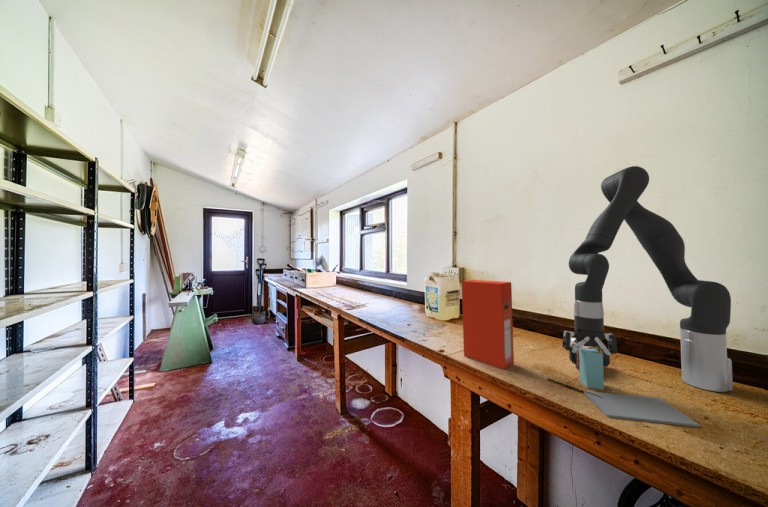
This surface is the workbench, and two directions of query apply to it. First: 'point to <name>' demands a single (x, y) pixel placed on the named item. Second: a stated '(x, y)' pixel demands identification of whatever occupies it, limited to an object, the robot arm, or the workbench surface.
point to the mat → (639, 409)
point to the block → (591, 368)
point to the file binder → (488, 322)
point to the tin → (578, 355)
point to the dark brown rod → (570, 387)
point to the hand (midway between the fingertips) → (589, 364)
